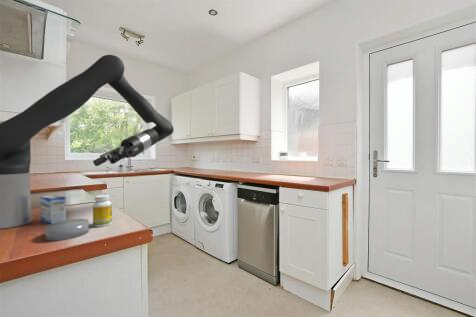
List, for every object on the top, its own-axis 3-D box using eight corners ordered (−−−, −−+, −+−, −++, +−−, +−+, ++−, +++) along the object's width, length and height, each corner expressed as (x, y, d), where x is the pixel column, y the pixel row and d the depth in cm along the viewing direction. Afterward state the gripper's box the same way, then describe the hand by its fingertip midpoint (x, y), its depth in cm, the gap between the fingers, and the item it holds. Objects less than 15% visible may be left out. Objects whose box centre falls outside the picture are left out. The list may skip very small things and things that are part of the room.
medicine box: (40, 221, 78) (39, 196, 78) (55, 217, 82) (54, 194, 82) (51, 224, 74) (50, 198, 74) (66, 220, 78) (65, 196, 78)
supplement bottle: (92, 224, 73) (91, 195, 73) (110, 221, 77) (109, 193, 77) (94, 228, 69) (93, 198, 69) (113, 224, 73) (112, 195, 72)
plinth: (35, 240, 60) (35, 229, 60) (67, 228, 70) (67, 218, 70) (69, 241, 59) (68, 230, 59) (96, 228, 69) (96, 219, 69)
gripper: (120, 138, 90) (84, 155, 77) (145, 132, 84) (110, 150, 71) (128, 154, 93) (95, 173, 79) (153, 150, 87) (121, 170, 73)
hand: (102, 162), depth 75 cm, fingers open, 8 cm apart
